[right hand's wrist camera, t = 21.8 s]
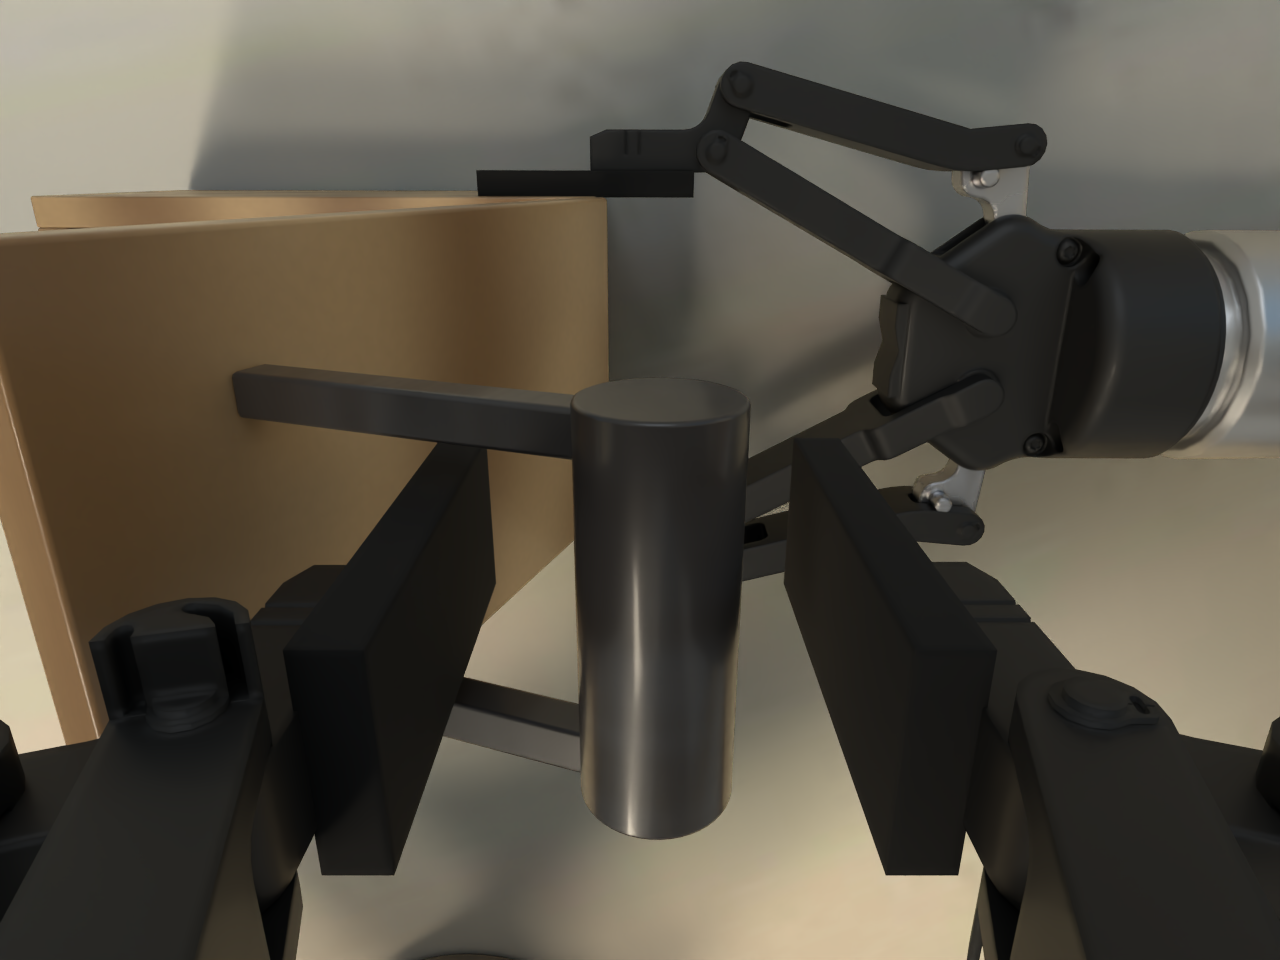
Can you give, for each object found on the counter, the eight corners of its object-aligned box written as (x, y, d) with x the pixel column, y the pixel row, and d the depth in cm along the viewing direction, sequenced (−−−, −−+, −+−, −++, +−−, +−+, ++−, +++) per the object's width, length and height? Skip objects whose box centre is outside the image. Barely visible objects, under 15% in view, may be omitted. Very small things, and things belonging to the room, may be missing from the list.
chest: (223, 427, 35) (103, 502, 27) (180, 190, 32) (29, 196, 24) (605, 425, 36) (600, 500, 28) (602, 190, 32) (595, 197, 24)
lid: (111, 915, 12) (645, 1134, 9) (-87, 237, 9) (650, 269, 6) (588, 503, 27) (847, 542, 24) (582, 197, 24) (880, 201, 21)
